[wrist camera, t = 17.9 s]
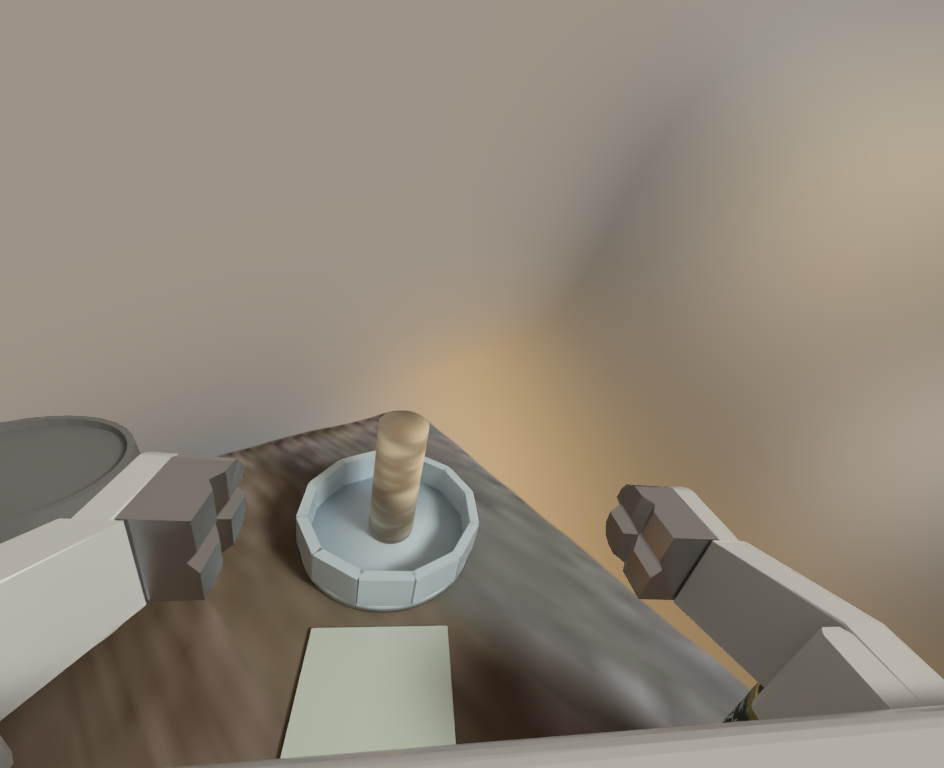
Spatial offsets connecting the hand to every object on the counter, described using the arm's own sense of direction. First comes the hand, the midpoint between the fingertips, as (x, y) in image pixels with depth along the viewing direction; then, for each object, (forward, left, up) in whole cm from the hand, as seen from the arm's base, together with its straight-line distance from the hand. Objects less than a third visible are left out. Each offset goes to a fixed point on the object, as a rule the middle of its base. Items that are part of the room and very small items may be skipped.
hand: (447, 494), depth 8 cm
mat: (0, +9, -30) cm, 31 cm away
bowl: (0, +26, -30) cm, 40 cm away
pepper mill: (0, +26, -29) cm, 39 cm away
